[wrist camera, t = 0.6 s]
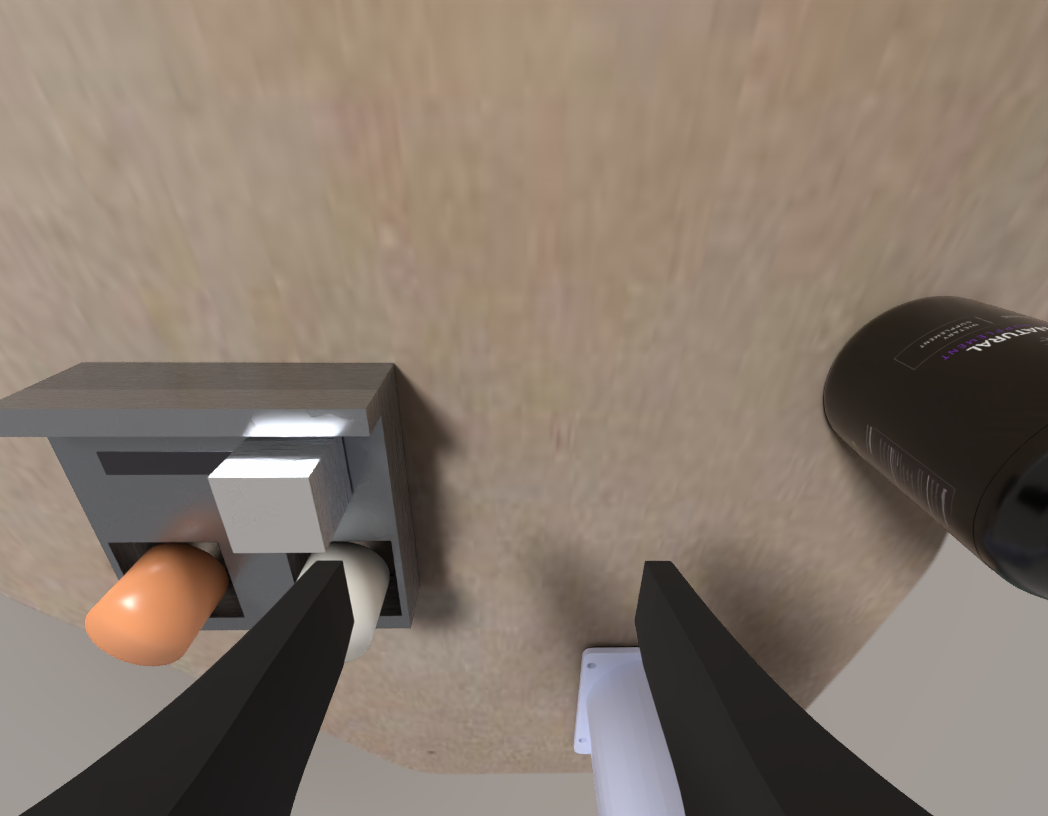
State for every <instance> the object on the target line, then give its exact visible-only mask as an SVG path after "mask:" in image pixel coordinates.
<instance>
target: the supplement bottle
mask: <svg viewBox="0 0 1048 816" xmlns="http://www.w3.org/2000/svg"><path fill="white" fill-rule="evenodd" d="M824 407H825V412H826V415H827V418H828V421H829V423H830V425H831V427H832V428H833V430H834V431H835V432H836V433H837V434H838V436H839V437H840V438H841V439H842V440H843V441H844V442H845V443H847V444H848V445H849V446H850V447H851V448H852V449H853V450H854V451H855V452H856V453H858V454H859V455H860V456H861V457H862V458H863V459H865V460H866V461H867V462H868V463H869V464H870V465H871V466H873V467H874V468H875V469H876V470H877V471H878V472H880V473H881V474H882V475H883V476H884V477H885V478H886V479H888V480H889V481H890V482H891V483H892V484H893V485H895V486H896V487H897V488H898V489H899V490H900V491H902V492H903V493H904V494H905V495H906V496H907V497H908V498H910V499H911V500H912V501H913V502H914V503H915V504H917V505H918V506H919V507H920V508H921V509H922V510H923V511H925V512H926V513H927V514H928V515H929V516H930V517H932V518H933V519H934V520H935V521H936V522H937V523H938V524H940V525H941V526H942V527H943V528H944V529H945V530H947V531H948V532H949V533H950V534H951V535H952V536H954V537H955V538H956V539H957V540H958V541H959V542H960V543H962V544H963V545H964V546H965V547H966V548H967V549H969V550H970V551H971V552H972V553H973V554H974V555H976V556H977V557H978V558H979V559H980V560H981V561H982V562H984V563H985V564H986V565H987V566H988V567H989V568H991V569H992V570H993V571H995V572H996V573H997V574H998V575H1000V576H1001V577H1002V578H1003V579H1005V580H1006V581H1007V582H1009V583H1010V584H1012V585H1013V586H1015V587H1017V588H1019V589H1021V590H1023V591H1025V592H1027V593H1030V594H1032V595H1035V596H1038V597H1040V598H1043V599H1046V600H1048V322H1046V321H1042V320H1039V319H1036V318H1032V317H1029V316H1026V315H1022V314H1019V313H1016V312H1013V311H1009V310H1006V309H1003V308H999V307H996V306H993V305H988V304H985V303H982V302H978V301H975V300H971V299H966V298H961V297H953V296H936V297H927V298H922V299H917V300H914V301H910V302H907V303H904V304H902V305H899V306H896V307H894V308H892V309H890V310H888V311H886V312H884V313H883V314H881V315H879V316H877V317H876V318H874V319H873V320H871V321H870V322H869V323H867V324H866V325H865V326H863V327H862V328H861V329H860V330H859V331H858V332H857V333H855V334H854V335H853V337H852V338H851V339H850V340H849V341H848V342H847V343H846V344H845V345H844V347H843V348H842V349H841V351H840V352H839V354H838V355H837V357H836V359H835V360H834V362H833V364H832V366H831V368H830V371H829V374H828V376H827V380H826V383H825V389H824Z"/></svg>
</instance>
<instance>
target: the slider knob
mask: <svg viewBox="0 0 1048 816" xmlns="http://www.w3.org/2000/svg"><path fill="white" fill-rule="evenodd" d="M208 481H209V483H210V486H211V489H212V492H213V495H214V498H215V501H216V504H217V507H218V510H219V513H220V516H221V518H222V521H223V524H224V527H225V530H226V533H227V536H228V539H229V542H230V545H231V548H232V550H233V553H325V552H326V550H327V548H328V546H329V544H330V542H331V540H332V538H333V536H334V534H335V532H336V530H337V528H338V526H339V524H340V522H341V520H342V517H343V515H344V513H345V511H346V509H347V507H348V505H349V503H350V501H351V499H352V491H351V486H350V481H349V475H348V470H347V464H346V459H345V453H344V448H343V443H342V437H341V436H248V437H247V438H246V439H245V440H244V441H243V442H242V443H241V444H240V445H239V446H238V447H237V448H236V449H235V450H234V451H233V452H232V453H231V454H230V455H229V456H228V457H227V458H226V459H225V460H224V461H223V462H222V463H221V464H220V465H219V466H218V467H217V468H216V469H215V470H214V471H213V472H212V473H211V474H210V475H209V477H208Z"/></svg>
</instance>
